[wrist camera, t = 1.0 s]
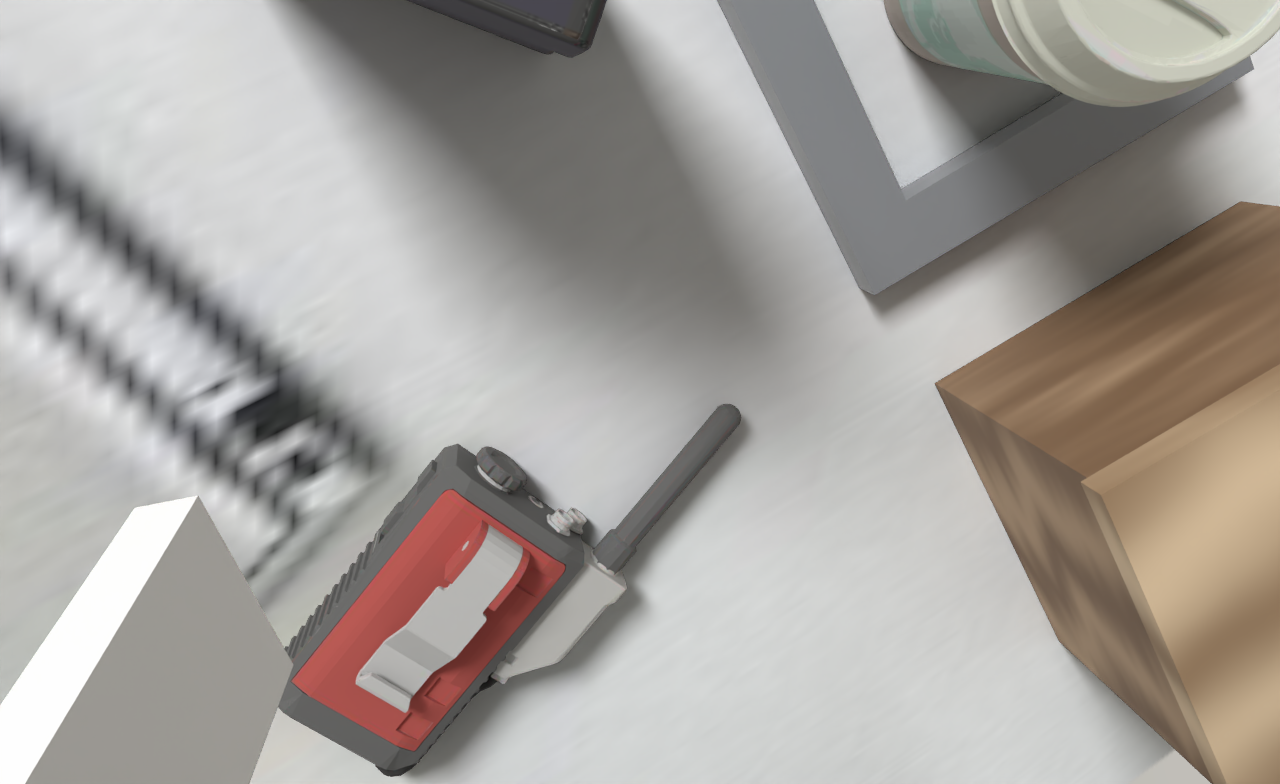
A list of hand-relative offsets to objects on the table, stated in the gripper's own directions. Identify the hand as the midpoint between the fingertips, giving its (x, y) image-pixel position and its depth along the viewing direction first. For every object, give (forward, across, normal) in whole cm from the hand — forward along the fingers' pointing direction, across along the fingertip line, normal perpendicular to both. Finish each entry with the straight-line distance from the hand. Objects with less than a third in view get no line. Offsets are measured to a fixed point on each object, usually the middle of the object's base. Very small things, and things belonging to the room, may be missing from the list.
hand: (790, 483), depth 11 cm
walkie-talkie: (+21, +10, +17) cm, 29 cm away
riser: (+25, -16, +20) cm, 36 cm away
